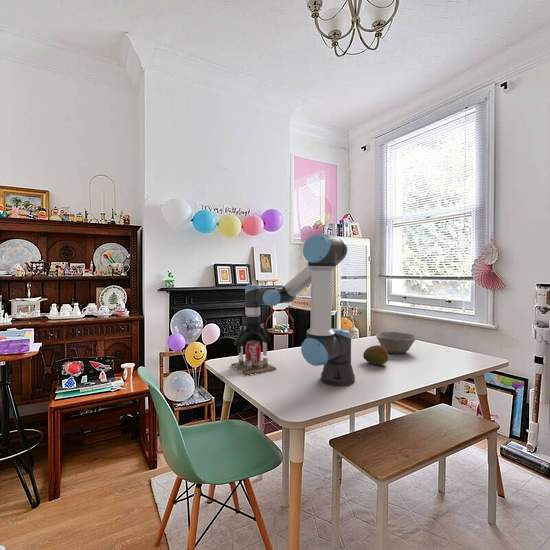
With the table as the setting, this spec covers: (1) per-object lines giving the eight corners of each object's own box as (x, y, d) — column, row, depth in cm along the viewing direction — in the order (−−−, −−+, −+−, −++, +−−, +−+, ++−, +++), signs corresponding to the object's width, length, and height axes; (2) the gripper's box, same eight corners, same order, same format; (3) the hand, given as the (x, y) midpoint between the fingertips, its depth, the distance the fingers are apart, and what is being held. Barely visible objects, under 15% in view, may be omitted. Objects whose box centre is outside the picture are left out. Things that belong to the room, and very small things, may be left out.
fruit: (388, 368, 164) (388, 349, 164) (362, 366, 168) (362, 347, 168) (388, 362, 175) (388, 343, 175) (363, 360, 179) (364, 342, 179)
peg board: (276, 370, 163) (275, 359, 163) (247, 375, 154) (247, 364, 154) (258, 361, 178) (258, 351, 178) (231, 366, 169) (231, 356, 169)
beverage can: (264, 365, 166) (264, 341, 166) (253, 369, 160) (252, 344, 160) (253, 362, 172) (253, 339, 171) (242, 365, 166) (241, 342, 165)
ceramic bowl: (367, 349, 201) (367, 333, 200) (396, 345, 210) (396, 330, 210) (395, 359, 181) (395, 341, 180) (424, 354, 190) (425, 337, 190)
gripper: (270, 312, 175) (270, 351, 176) (226, 316, 162) (227, 359, 162) (277, 314, 169) (277, 355, 169) (233, 318, 156) (233, 362, 156)
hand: (253, 357), depth 166 cm, fingers open, 13 cm apart
